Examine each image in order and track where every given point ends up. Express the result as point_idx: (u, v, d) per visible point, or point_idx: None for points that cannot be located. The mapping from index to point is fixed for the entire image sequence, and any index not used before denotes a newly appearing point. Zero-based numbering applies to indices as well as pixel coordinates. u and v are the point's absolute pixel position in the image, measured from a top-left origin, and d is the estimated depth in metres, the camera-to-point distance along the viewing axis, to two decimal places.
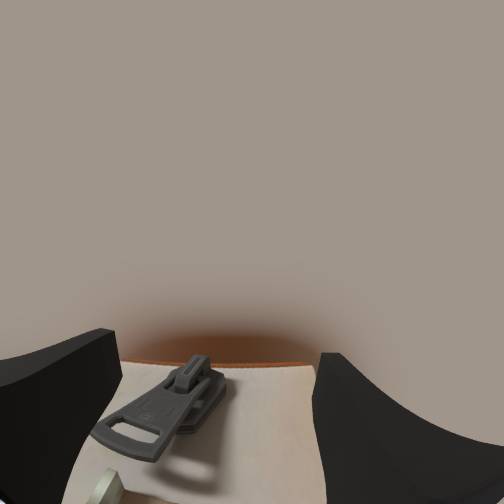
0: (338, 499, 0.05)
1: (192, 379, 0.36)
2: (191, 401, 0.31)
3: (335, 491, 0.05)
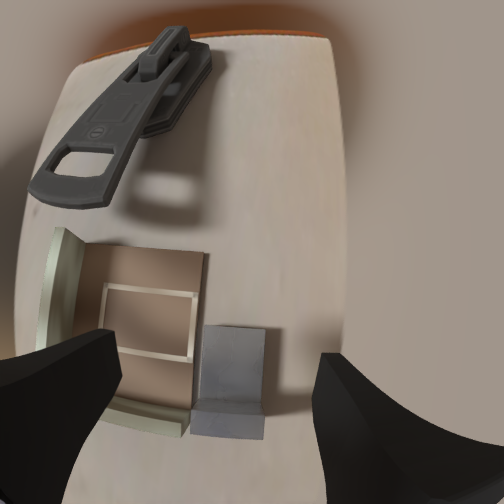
0: (338, 499, 0.05)
1: (162, 58, 0.22)
2: (159, 88, 0.21)
3: (335, 491, 0.05)
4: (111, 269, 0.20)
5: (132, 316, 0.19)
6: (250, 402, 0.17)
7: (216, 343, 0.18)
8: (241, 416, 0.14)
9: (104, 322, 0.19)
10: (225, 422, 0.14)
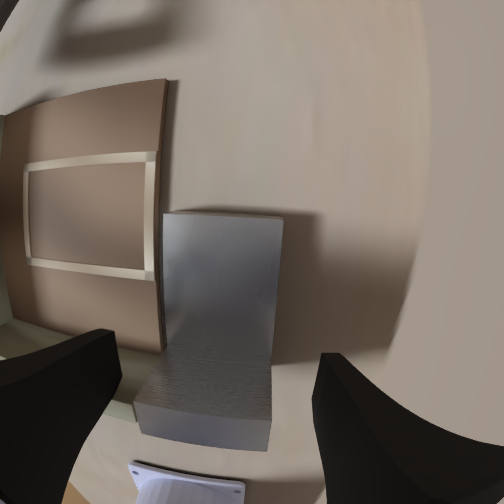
0: (338, 499, 0.05)
1: None
2: None
3: (335, 491, 0.05)
4: (31, 141, 0.10)
5: (60, 209, 0.11)
6: (253, 354, 0.10)
7: (187, 249, 0.10)
8: (225, 419, 0.07)
9: (30, 225, 0.11)
10: (197, 426, 0.07)
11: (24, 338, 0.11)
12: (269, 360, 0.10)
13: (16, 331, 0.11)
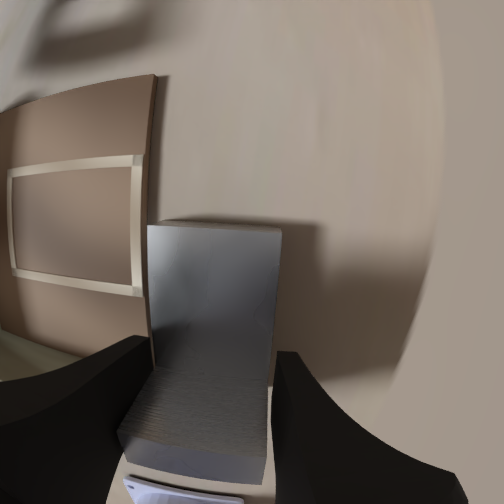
0: (280, 502, 0.05)
1: None
2: None
3: (279, 493, 0.05)
4: (15, 145, 0.09)
5: (44, 217, 0.10)
6: (248, 378, 0.09)
7: (174, 265, 0.09)
8: (215, 455, 0.06)
9: (14, 234, 0.10)
10: (185, 460, 0.06)
11: (11, 353, 0.09)
12: (265, 385, 0.09)
13: (4, 344, 0.10)
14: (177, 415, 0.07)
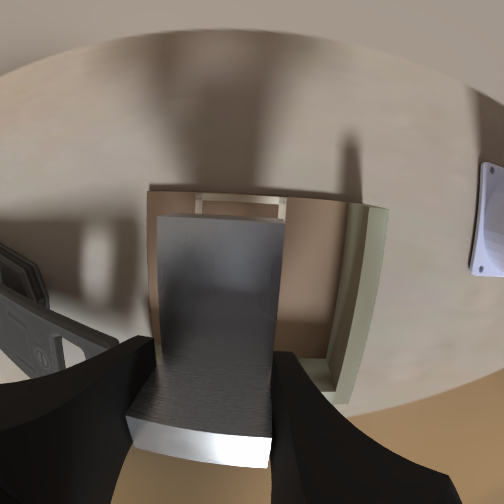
0: (275, 502, 0.05)
1: None
2: None
3: (274, 493, 0.05)
4: None
5: None
6: (252, 365, 0.10)
7: (182, 254, 0.09)
8: (222, 436, 0.06)
9: None
10: (193, 442, 0.07)
11: (337, 335, 0.16)
12: (269, 371, 0.09)
13: (333, 347, 0.16)
14: (184, 399, 0.08)
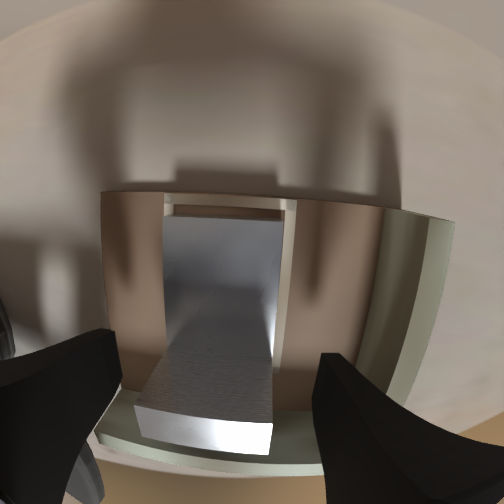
0: (338, 499, 0.05)
1: None
2: None
3: (335, 491, 0.05)
4: (147, 350, 0.12)
5: None
6: (254, 357, 0.10)
7: (186, 252, 0.10)
8: (225, 423, 0.07)
9: None
10: (197, 430, 0.07)
11: None
12: (270, 363, 0.10)
13: None
14: (190, 389, 0.08)
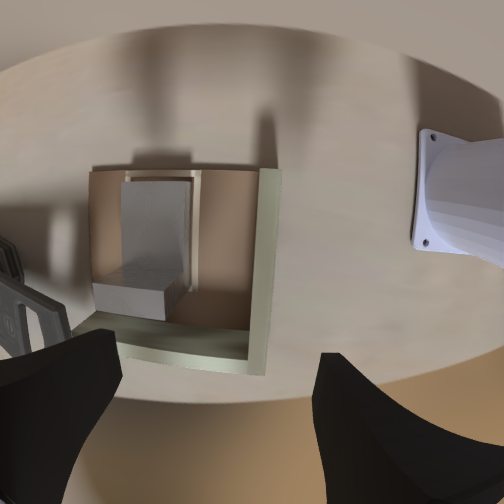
0: (338, 499, 0.05)
1: None
2: None
3: (335, 491, 0.05)
4: None
5: None
6: (172, 270, 0.16)
7: (133, 201, 0.16)
8: (138, 290, 0.13)
9: None
10: (125, 298, 0.13)
11: None
12: (181, 272, 0.16)
13: None
14: (126, 278, 0.14)
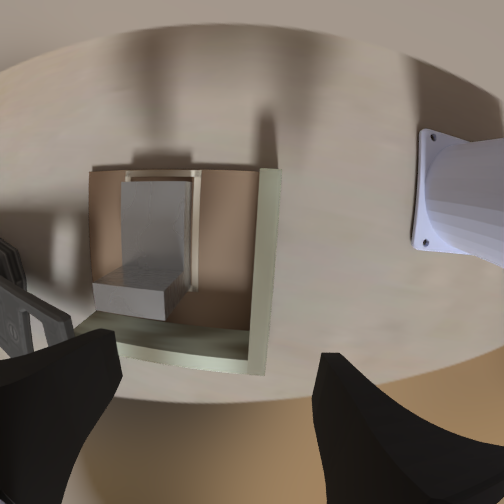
0: (338, 499, 0.05)
1: None
2: None
3: (335, 491, 0.05)
4: None
5: None
6: (172, 270, 0.16)
7: (133, 201, 0.16)
8: (138, 290, 0.13)
9: None
10: (125, 298, 0.13)
11: None
12: (181, 272, 0.16)
13: None
14: (126, 278, 0.14)
